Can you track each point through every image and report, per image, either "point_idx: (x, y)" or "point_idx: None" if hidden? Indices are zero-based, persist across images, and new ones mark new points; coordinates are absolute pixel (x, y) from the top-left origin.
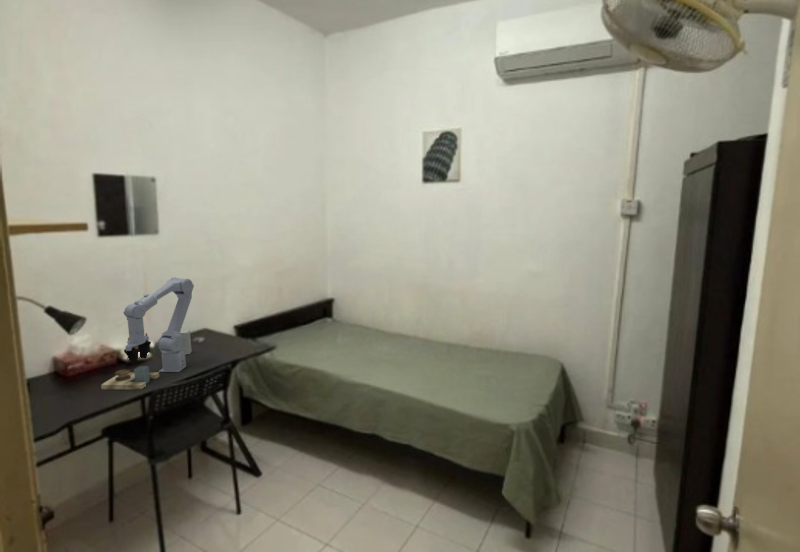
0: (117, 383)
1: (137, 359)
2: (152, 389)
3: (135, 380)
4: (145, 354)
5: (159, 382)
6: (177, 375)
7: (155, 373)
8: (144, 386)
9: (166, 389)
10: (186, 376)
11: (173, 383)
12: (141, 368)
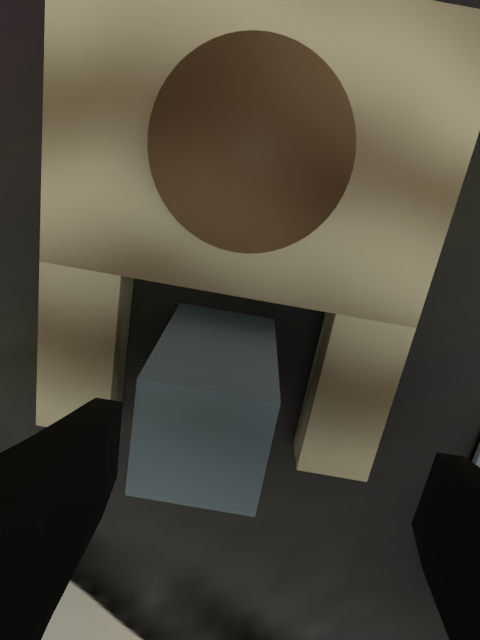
0: (87, 151)
1: (74, 564)
2: None
3: (171, 322)
4: (443, 588)
5: None
6: (348, 577)
7: (342, 458)
8: None
9: None
10: (307, 636)
11: (170, 584)
12: (168, 461)
